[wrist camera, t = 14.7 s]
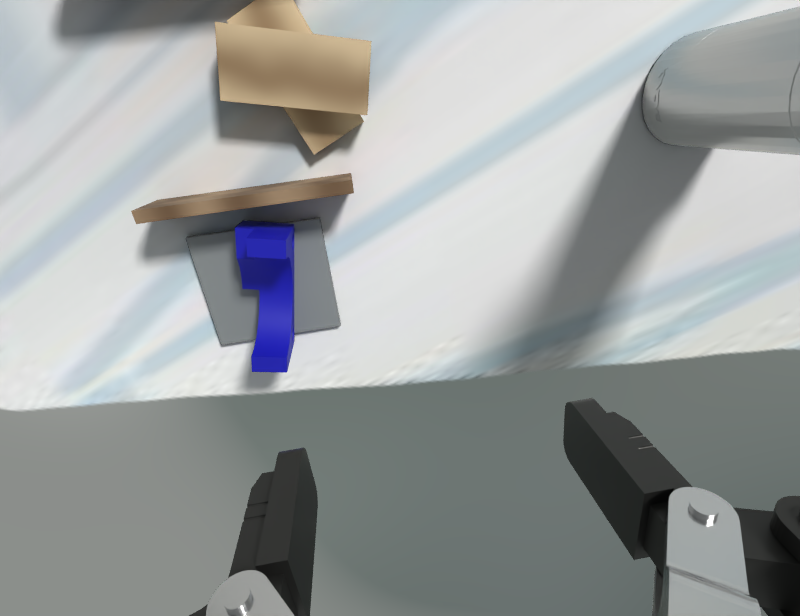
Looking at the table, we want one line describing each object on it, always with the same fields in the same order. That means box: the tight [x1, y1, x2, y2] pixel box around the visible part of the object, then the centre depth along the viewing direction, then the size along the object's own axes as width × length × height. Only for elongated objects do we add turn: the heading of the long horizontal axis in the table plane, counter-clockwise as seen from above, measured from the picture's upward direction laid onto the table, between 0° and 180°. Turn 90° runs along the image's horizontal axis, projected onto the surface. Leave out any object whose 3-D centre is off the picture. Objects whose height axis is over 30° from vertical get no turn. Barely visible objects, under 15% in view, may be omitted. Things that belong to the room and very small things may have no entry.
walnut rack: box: [131, 173, 354, 224], centre depth 32 cm, size 17×18×5 cm
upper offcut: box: [215, 22, 371, 115], centre depth 33 cm, size 5×11×2 cm, turn 85°
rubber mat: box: [186, 218, 341, 345], centre depth 41 cm, size 12×11×1 cm
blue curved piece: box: [235, 220, 294, 372], centre depth 38 cm, size 12×4×6 cm, turn 174°
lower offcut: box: [227, 0, 364, 155], centre depth 35 cm, size 5×11×2 cm, turn 31°
